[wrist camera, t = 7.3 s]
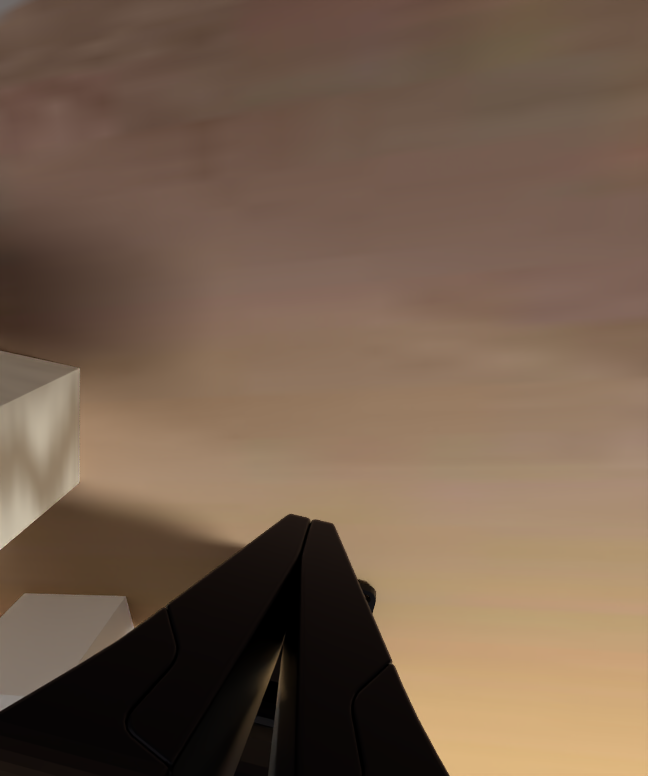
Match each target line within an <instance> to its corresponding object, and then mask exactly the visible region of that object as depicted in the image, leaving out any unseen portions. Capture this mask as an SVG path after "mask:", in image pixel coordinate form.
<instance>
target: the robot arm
mask: <svg viewBox="0 0 648 776" xmlns="http://www.w3.org/2000/svg"><path fill="white" fill-rule="evenodd" d="M364 595H368V596H369V597H365V596H364ZM375 602H376V591H375V589H374V588H373V587H372V586H369V585H366V584H362V583H359V582H358V580H357V577H356V575H355V573H354V570H353V568H352V566H351V563H350V561H349V559H348V556H347V554H346V552H345V549H344V547H343V544H342V542H341V540H340V537H339V535H338V533H337V530H336V528H335V526H334V525H333V524H332V523H329V522H324V521H320V520H312V521H311V523H310V519H309V518H307V517H302V516H298V515H294V514H289V515H287V516H285V517H284V518H283V519H281V520H280V521H279V522H277V523H276V524H275V525H273V526H272V527H271V528H269V529H268V530H267V531H265V532H264V533H263V534H261V535H260V536H259V537H257V538H256V539H255V540H253V541H252V542H251V543H249V544H248V545H246V546H245V547H244V548H242V549H241V550H240V551H238V552H237V553H236V554H234V555H233V556H232V557H230V558H229V559H228V560H226V561H225V562H224V563H222V564H221V565H220V566H218V567H217V568H216V569H214V570H213V571H212V572H210V573H209V574H208V575H206V576H205V577H204V578H202V579H201V580H200V581H198V582H197V583H195V584H194V585H193V586H191V587H190V588H189V589H187V590H186V591H185V592H183V593H182V594H181V595H179V596H178V597H177V598H175V599H174V600H173V601H171V602H170V603H169V604H167V605H166V608H162V609H160V610H159V611H158V612H156V613H155V614H154V615H152V616H151V617H150V618H148V619H147V620H145V621H144V622H143V623H141V624H140V625H138V626H137V627H136V628H134V629H133V630H131V631H130V632H128V633H127V634H126V635H124V636H123V637H121V638H120V639H118V640H117V641H115V642H114V643H112V644H111V645H109V646H107V647H106V648H104V649H103V650H101V651H99V652H98V653H96V654H95V655H93V656H91V657H90V658H88V659H87V660H85V661H83V662H82V663H80V664H78V665H77V666H75V667H73V668H72V669H70V670H68V671H67V672H65V673H63V674H62V675H60V676H58V677H57V678H55V679H53V680H52V681H50V682H48V683H47V684H45V685H43V686H41V687H40V688H38V689H36V690H35V691H33V692H31V693H30V694H28V695H26V696H25V697H23V698H21V699H20V700H18V701H16V702H15V703H13V704H11V705H9V706H8V707H6V708H4V709H3V710H1V711H0V776H450V775H449V774H448V772H447V770H446V768H445V767H444V765H443V763H442V761H441V760H440V758H439V756H438V754H437V752H436V751H435V749H434V747H433V745H432V743H431V741H430V739H429V738H428V736H427V734H426V732H425V730H424V728H423V726H422V725H421V723H420V721H419V719H418V717H417V715H416V713H415V711H414V708H413V706H412V704H411V702H410V700H409V698H408V696H407V693H406V691H405V689H404V687H403V685H402V682H401V680H400V677H399V675H398V673H397V670H396V668H395V666H394V665H393V664H392V659H391V657H390V654H389V652H388V650H387V647H386V645H385V643H384V640H383V638H382V636H381V633H380V631H379V629H378V626H377V624H376V622H375V619H374V617H373V615H372V613H373V609H374V606H375Z"/></svg>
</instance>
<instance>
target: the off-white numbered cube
mask: <svg viewBox="0 0 648 776" xmlns="http://www.w3.org/2000/svg"><path fill="white" fill-rule="evenodd" d="M133 629H134V626H133V622H132V618H131V614H130V610H129V607H128V603H127V599H126V596H105V595H70V594H36V593H24V594H23V595H22V596H21V597H20V598H19V599H18V600H17V601H16V602H15V603H14V604H13V605H12V606H11V607H10V608H9V609H8V610H7V611H6V612H5V613H4V614H3V615H2V616H1V617H0V711H1V710H3V709H4V708H6V707H8V706H9V705H11V704H13V703H15V702H16V701H18V700H20V699H21V698H23V697H25V696H26V695H28V694H30V693H31V692H33V691H35V690H36V689H38V688H40V687H41V686H43V685H45V684H47V683H48V682H50V681H52V680H53V679H55V678H57V677H58V676H60V675H62V674H63V673H65V672H67V671H68V670H70V669H72V668H73V667H75V666H77V665H78V664H80V663H82V662H83V661H85V660H87V659H88V658H90V657H91V656H93V655H95V654H96V653H98V652H99V651H101V650H103V649H104V648H106V647H107V646H109V645H111V644H112V643H114V642H115V641H117V640H118V639H120V638H121V637H123V636H124V635H126V634H127V633H128V632H130V631H131V630H133Z"/></svg>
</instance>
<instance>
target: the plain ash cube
mask: <svg viewBox="0 0 648 776" xmlns="http://www.w3.org/2000/svg"><path fill="white" fill-rule="evenodd" d="M79 481H80V368H78V367H73V366H69V365H64V364H59V363H55V362H50V361H46V360H41V359H36V358H32V357H27V356H23V355H18V354H13V353H9V352H4V351H0V550H1V549H2V548H3V547H4V546H5V545H7V544H8V543H9V542H10V541H11V540H13V539H14V538H15V537H16V536H17V535H18V534H20V533H21V532H22V531H23V530H24V529H26V528H27V527H28V526H29V525H30V524H31V523H33V522H34V521H35V520H36V519H37V518H39V517H40V516H41V515H42V514H43V513H44V512H46V511H47V510H48V509H49V508H50V507H52V506H53V505H54V504H55V503H56V502H57V501H59V500H60V499H61V498H62V497H63V496H65V495H66V494H67V493H68V492H69V491H70V490H72V489H73V488H74V487H75V486H76V485H78V484H79Z"/></svg>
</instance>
